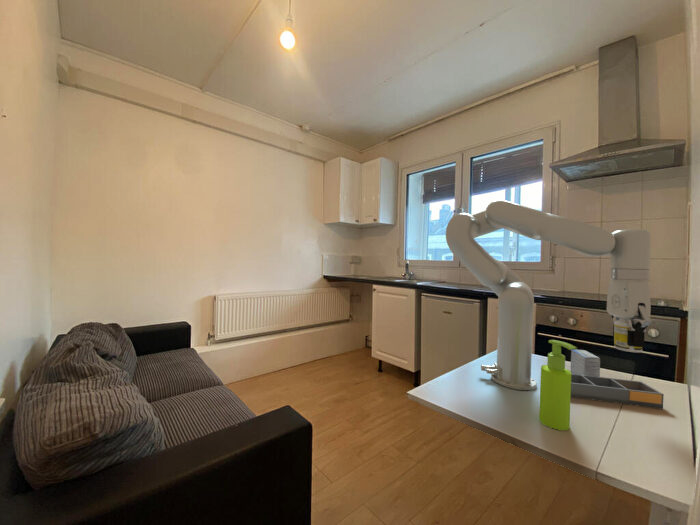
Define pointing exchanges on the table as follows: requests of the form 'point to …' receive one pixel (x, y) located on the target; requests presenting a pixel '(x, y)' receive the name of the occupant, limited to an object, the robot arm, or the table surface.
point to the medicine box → (584, 363)
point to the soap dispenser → (555, 389)
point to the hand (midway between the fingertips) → (627, 342)
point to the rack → (615, 391)
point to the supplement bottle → (623, 335)
